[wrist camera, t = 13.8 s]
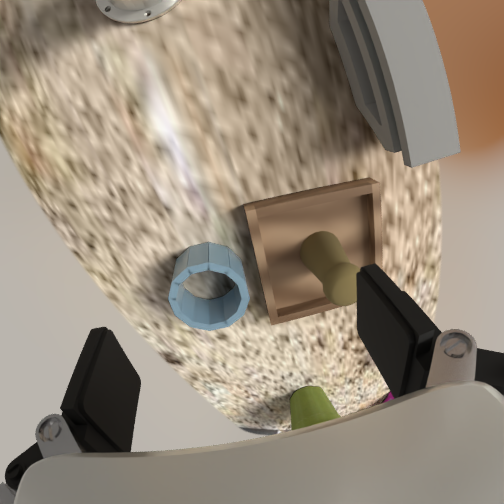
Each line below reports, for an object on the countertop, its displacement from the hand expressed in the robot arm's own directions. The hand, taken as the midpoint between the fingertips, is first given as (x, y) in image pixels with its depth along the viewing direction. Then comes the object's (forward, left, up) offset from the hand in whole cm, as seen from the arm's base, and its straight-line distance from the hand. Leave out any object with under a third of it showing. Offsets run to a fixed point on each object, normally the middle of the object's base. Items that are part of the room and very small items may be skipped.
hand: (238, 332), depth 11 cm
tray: (+14, +11, -30) cm, 35 cm away
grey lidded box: (-12, +23, -31) cm, 40 cm away
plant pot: (+47, +6, -31) cm, 56 cm away
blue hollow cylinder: (+14, -5, -30) cm, 34 cm away
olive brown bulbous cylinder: (+14, +11, -30) cm, 34 cm away
